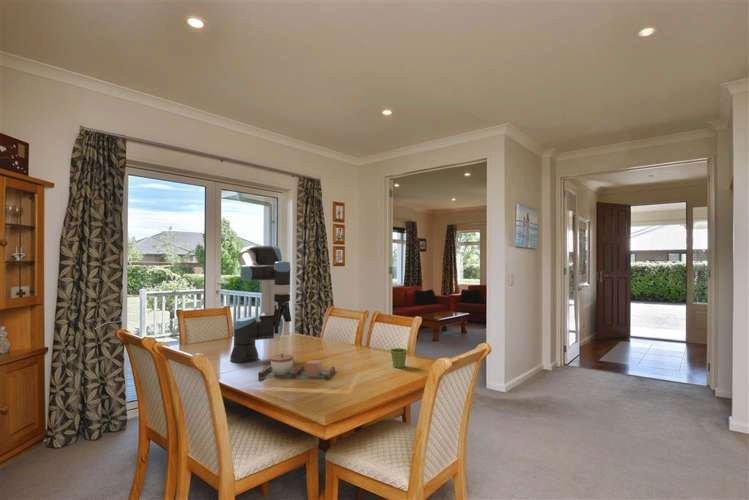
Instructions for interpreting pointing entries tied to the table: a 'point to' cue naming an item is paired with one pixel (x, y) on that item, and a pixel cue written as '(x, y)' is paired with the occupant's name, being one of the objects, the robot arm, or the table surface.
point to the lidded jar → (281, 364)
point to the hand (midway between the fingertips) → (281, 337)
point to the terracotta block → (313, 368)
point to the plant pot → (398, 357)
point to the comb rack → (294, 374)
